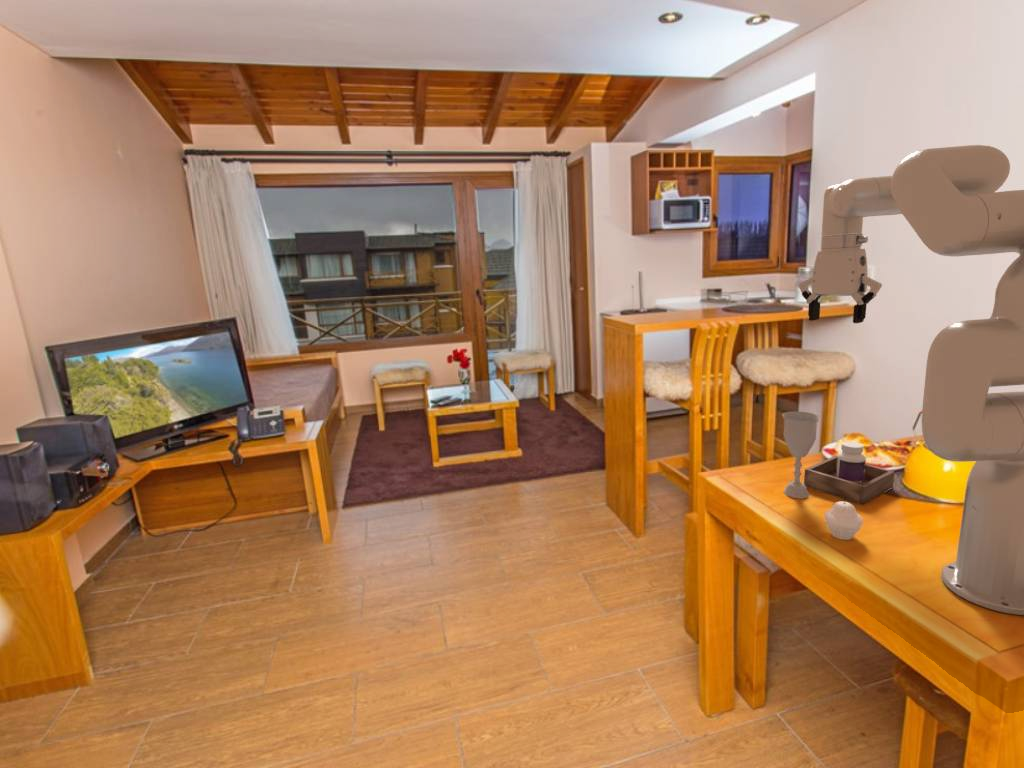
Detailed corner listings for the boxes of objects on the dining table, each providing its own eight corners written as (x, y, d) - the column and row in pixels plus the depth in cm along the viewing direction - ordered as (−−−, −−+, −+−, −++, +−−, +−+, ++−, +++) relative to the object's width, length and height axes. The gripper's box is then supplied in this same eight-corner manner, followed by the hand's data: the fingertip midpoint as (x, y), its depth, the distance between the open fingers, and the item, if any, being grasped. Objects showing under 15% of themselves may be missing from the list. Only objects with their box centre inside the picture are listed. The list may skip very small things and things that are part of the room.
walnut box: (892, 488, 117) (894, 471, 116) (863, 505, 111) (864, 487, 110) (834, 471, 128) (835, 455, 127) (803, 486, 122) (804, 469, 121)
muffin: (842, 547, 97) (845, 512, 95) (815, 531, 103) (817, 498, 101) (869, 540, 98) (872, 505, 97) (841, 525, 104) (843, 492, 103)
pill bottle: (869, 489, 116) (872, 447, 114) (844, 491, 116) (847, 449, 114) (853, 479, 122) (857, 439, 119) (830, 481, 122) (832, 441, 120)
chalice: (772, 493, 119) (776, 416, 115) (785, 484, 123) (789, 409, 119) (807, 503, 114) (812, 423, 109) (820, 493, 118) (825, 415, 114)
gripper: (893, 240, 111) (886, 321, 115) (811, 245, 126) (807, 317, 130) (875, 241, 108) (868, 325, 111) (792, 246, 122) (789, 321, 126)
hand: (835, 321), depth 121 cm, fingers open, 9 cm apart
